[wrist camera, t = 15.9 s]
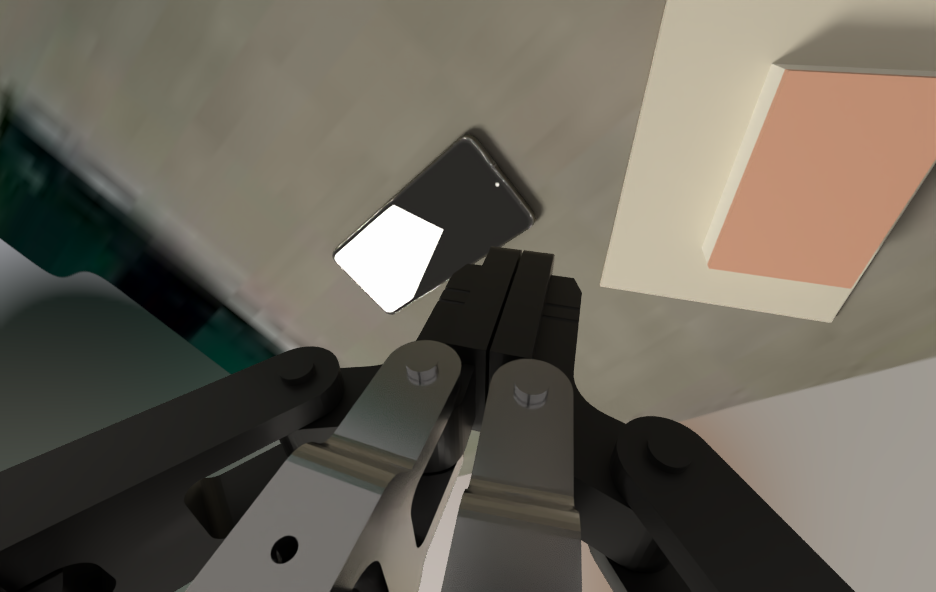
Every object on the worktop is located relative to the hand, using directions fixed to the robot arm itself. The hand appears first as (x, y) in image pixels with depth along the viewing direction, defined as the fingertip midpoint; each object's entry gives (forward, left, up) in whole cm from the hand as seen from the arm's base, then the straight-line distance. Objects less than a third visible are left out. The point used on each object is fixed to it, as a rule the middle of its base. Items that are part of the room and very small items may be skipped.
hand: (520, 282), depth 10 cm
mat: (+2, +11, -18) cm, 21 cm away
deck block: (+2, +9, -16) cm, 18 cm away
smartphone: (+9, -9, -18) cm, 22 cm away
